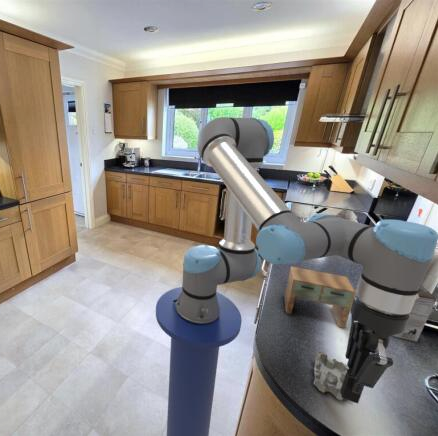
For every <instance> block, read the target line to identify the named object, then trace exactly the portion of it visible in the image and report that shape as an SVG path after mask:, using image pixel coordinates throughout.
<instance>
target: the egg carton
mask: <svg viewBox="0 0 438 436" xmlns="http://www.w3.org/2000/svg"><path fill="white" fill-rule="evenodd" d="M347 369H349V368H348V366H347V363H344V362H342V361H338V360H337V358H333V359H331V358H328V354H326V353H324V352H323V351H322V352H321V350H320V349H317V355H316V357H315V360H314V367H313V371H314V381H313V385H314V386H315V387H317V389H318V390H319V391H320V392H322V393H323V394H325V392H328V393H330V394H332V395H333V396H334V397H335V398H336V400H339V401H341V402H342V401H343V400H345V399H344V398H342V396H341V393H340V391H341V388H342V385H343V382H344V379H345V375H346V372H347Z"/></svg>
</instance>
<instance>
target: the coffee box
mask: <svg viewBox="0 0 438 436" xmlns="http://www.w3.org/2000/svg"><path fill="white" fill-rule="evenodd" d="M418 295H419V298H418V299H416V300H415V302H414V305H413V307H412V310H411V312H410V313H409V319H408V321H407V324H406V326H405V329H404V331H403V332H402V333H400V334H396V335H392V336H391V337H395V338H399V339H403V340H408V341H412V342H417V343H418V341H419V338H420V337H421V334H422V332H423V330H424V328H425V326H426V323H427V321H428V319H429V317H430V314H431V313H432V310H433V307H434V305H435V304H436V301H437V297H436V296H435V295H433V294H432V293H431V292H430V291H429V290H427V289H426V287H424V286H423V285H421V287H420V290H419V292H418Z"/></svg>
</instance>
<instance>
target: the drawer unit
mask: <svg viewBox="0 0 438 436" xmlns="http://www.w3.org/2000/svg"><path fill="white" fill-rule="evenodd" d="M355 292H356V289H354V286H353V285H352V283H351V282H350V279H348V277H347V276H346V275H340V274H335V273H330V272H325V271H324V272H323V271H317V270H314V269H307V268H302V267H297V266H290V269H289V273H288V279H287V283H286V288H285V292H284V297H283V299H284V300H283V301H284V305H285V306H284V307H285V314H287V315H292V313H293V308H294V304H295V300H296V298H299V299H304V300H309V301H313V302H317V303H320V304H321V303H322V304H325V305H330V306H332V307H331V312H332V314H333V316H334V319H335V321H336V324H337V326H338V328H342V329H345V328H346V324H347V321H348V318H349V314H350V313H351V311H350V310H351V306H352V303H353V300H354V297H355V296H356V294H355Z"/></svg>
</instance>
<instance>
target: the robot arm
mask: <svg viewBox="0 0 438 436" xmlns="http://www.w3.org/2000/svg"><path fill="white" fill-rule="evenodd" d="M274 143H275V134H274V130H273V128H272V126H271V124H269V122H268V121H266V120H264V119H261V118H255V117H228V116H221V117H216V118H213V119H211V120H210V121H208V122H207V123H206V124H205V125H204V126H203V127H202V128H201V130H200V132H199V134H198V138H197V150H198V154H199V156H200V158H201V160H202V161H203V162H204V164H205V165H206V166H208V167H211V168H212V169H213V170H214V171H215V173H216V174H217V176H218V177H219V178H220V180H221V181H222V183H223V184H224V185H225V186H226V187H225V188H226V201H225V202H226V203H225V216H224V217H225V218H224V233H223V238H222V239H220V240H219V243H218V247H217V248H216V247H215V246H213V245H205V244H203V245H202V244H201V245H196V246H193V247H190V248H189V249H187V250H186V252H185V253H184V256H183V262H182V282H181V283H182V285H181V287H182V291H181V293H180V295H179V297H178V299H176V300H173V302H177V303H176V311H177V314H178V315H179V316H180V317H181V318H182V319H183V320H185V321H186V322H189V323H191V324H195V325H209V324H212V323H214V322H215V321H217V319H218V318H219V314H220V307H219V304H218V300H217V296H216V292H217V290H218V286H219V285H224V284H230V283H235V282H243V281H247V280H249V279H253V278H254V277H256V276H257V275H258V274H259V272H260V270H261V267H262V259H263V260H264V261H265V262H267V263H269V264H272V265H293V264H297V263H300V262H304V261H305V262H306V261H309V260H316V259H321V258H328V257H333V256H338V257H341V258H343V259H346V260H348V261H350V262H353V263H356V264H358V265H361V266H362V269H361V270H362V271H361V274H360V276H359V279H358V282H357V285H356V289H355V296H354V299H353V302H352V306H351V309H350V314H351V322H350V323H351V324H350V330H349V334H348V340H347V345H346V349H345V359H346V360H347V363H346V365H347V366H348V368H349V369H347V372H346V375H345V379H344V382H343V385H342V388H341V391H340V393H341V396H342V398H344V399H343V400H346V401H350V402H352V403H356V404H359V402H360V399H361V397H362V394H363V391H364V388H365V387H367V388H369V389H374V388H375V386H376V385H377V383H378V382H379V381H380V378H381V377H382V376H383V375H384V373H385V372H386V370H387V369H388V368H390V367H393V365H394V360H393V358H392V357H389V356H387V354H386V353H387V352H386V349H387V348H388V347H389V346H390V345H389V344H390V337H393V336H392V335H396V334H400V333H402V332H403V331H404V329H405V326H406V324H407V321H408V319H409V313H410V312H411V310H412V307H413V305H414V302H415V300H416V299H418V298H419V295H418V292H419V290H420V287H421V286H422V284H423V282H424V279H425V277H426V275H427V272H428V270H429V268H430V265H431V263H432V261H433V260H434V258H435V251H436V247H437V244H438V232H437V231H436V230H435V229H433V228H432V227H430V226H428V225H425V224H421V223H418V222H414V221H405V220H401V219H382V220H381V219H380V220H379V221H378V222H377V223H376V224H375V226H372V225H368V224H365V223H361V222H357V221H354V220H350V219H347V218H343V217H340V216H338V215H335V214H328V213H327V214H326V213H320V212H319V213H314V214H313V216H311V217H308V218H307V220H306V221H301V219H300V218H298V216H297V215H296V214H295V213H294V212H293V211H292V210H291V209H290V207H288V206H287V204H286V203H285V202H284V201H283V200H282V198H281V197H280V196H279V195H278V194H277V193H276V192H275V191H274V189H273V188H272V187H271V186H270V185H269V184H268V183H267V181H266V180H264V178H263V177H262V175H260V174H259V172H258V169H259V167H260V166H262V164H264V158H265V157H266V156H267V155H269V153H270V152H271V150H272V149H273V146H274ZM253 226H254V227H255V228H256V230H257V231H258V233H257V235H256V238H255V239H256V240H255V243H254V242H253V241H252V240H251V239H252V228H253ZM255 244H256V245H255ZM256 246H257V248H256Z"/></svg>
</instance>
